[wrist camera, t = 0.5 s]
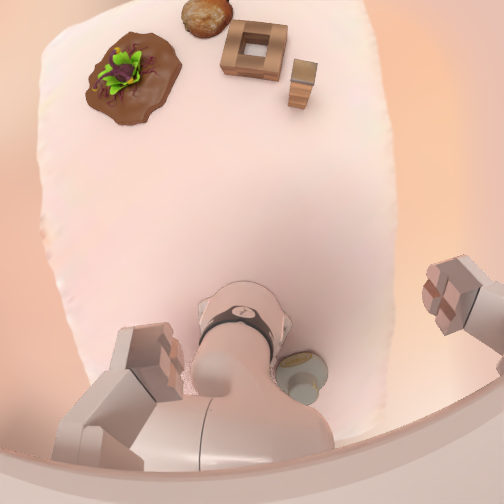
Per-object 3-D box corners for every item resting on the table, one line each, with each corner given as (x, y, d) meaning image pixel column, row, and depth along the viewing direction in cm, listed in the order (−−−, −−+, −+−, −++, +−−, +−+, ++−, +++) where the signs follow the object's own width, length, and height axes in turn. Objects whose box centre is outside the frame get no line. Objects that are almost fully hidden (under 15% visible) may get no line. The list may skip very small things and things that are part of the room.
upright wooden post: (304, 109, 50) (314, 83, 34) (287, 106, 50) (290, 78, 34) (307, 94, 49) (317, 63, 33) (290, 90, 49) (294, 58, 33)
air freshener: (320, 344, 60) (326, 372, 50) (330, 373, 62) (336, 402, 52) (270, 359, 62) (268, 388, 52) (283, 386, 64) (282, 416, 54)
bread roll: (186, 23, 50) (163, 19, 44) (215, -12, 43) (193, -20, 37) (215, 47, 51) (193, 44, 45) (247, 11, 45) (228, 3, 38)
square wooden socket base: (278, 81, 49) (278, 72, 44) (224, 74, 49) (219, 65, 44) (287, 37, 46) (287, 25, 41) (235, 30, 47) (231, 19, 42)
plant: (199, 57, 49) (182, 34, 38) (142, 138, 54) (114, 132, 43) (130, 25, 47) (105, 5, 37) (80, 99, 52) (49, 89, 41)
